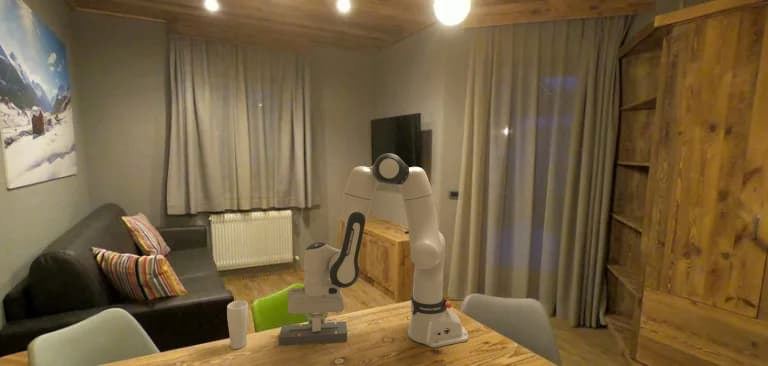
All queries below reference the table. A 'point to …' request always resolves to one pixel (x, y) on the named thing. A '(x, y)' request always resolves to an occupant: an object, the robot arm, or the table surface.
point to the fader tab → (316, 322)
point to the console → (312, 333)
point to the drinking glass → (237, 323)
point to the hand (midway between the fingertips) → (316, 323)
